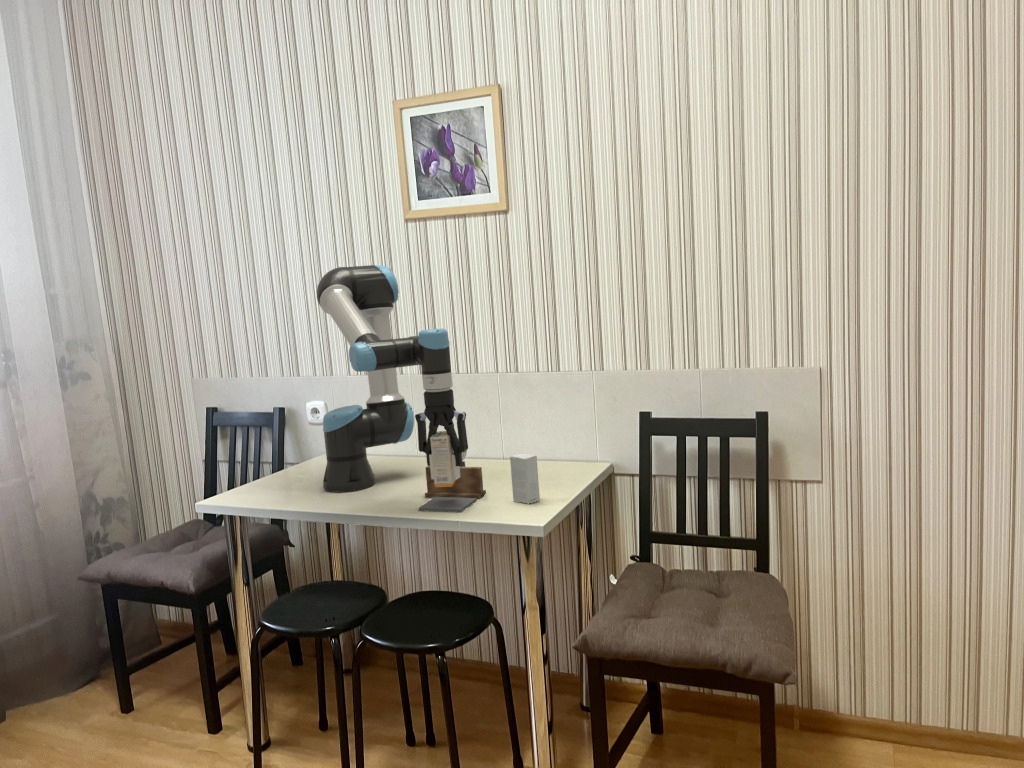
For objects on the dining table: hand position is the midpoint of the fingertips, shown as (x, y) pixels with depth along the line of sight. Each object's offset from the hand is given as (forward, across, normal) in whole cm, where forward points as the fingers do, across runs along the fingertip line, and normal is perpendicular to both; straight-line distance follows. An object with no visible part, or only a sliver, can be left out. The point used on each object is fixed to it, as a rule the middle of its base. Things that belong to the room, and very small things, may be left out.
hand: (445, 478), depth 198 cm
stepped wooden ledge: (+7, -2, +9) cm, 12 cm away
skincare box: (+8, +19, +7) cm, 22 cm away
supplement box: (+2, 0, 0) cm, 2 cm away
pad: (+7, 0, 0) cm, 7 cm away
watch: (+8, -13, +33) cm, 36 cm away
